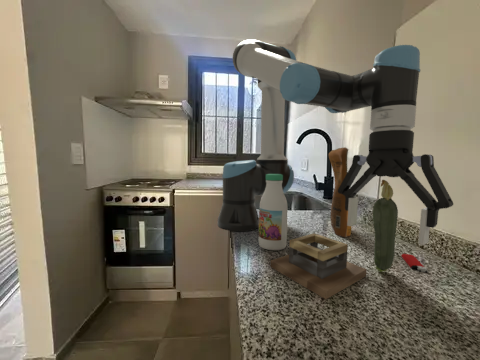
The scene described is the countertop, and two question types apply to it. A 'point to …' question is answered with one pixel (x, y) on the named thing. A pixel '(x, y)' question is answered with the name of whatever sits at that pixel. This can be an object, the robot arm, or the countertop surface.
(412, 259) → the lighter
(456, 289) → the countertop surface
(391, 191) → the vegetable
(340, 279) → the collar stand
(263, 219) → the milk bottle
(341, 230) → the pancake mix bag
